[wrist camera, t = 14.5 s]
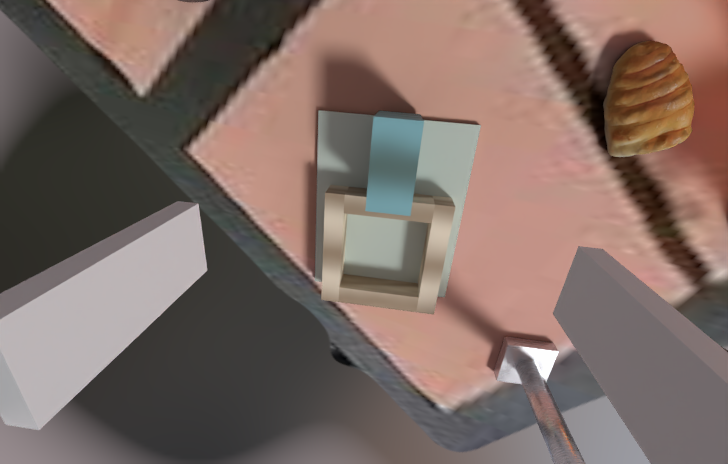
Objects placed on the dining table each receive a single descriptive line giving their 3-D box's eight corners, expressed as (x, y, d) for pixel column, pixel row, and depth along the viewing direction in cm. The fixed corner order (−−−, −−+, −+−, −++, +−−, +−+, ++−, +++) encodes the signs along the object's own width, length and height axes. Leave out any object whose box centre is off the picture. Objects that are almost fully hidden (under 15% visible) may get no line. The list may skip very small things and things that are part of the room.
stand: (504, 336, 42) (580, 521, 24) (553, 342, 42) (666, 536, 24) (493, 371, 45) (554, 563, 27) (539, 377, 44) (632, 577, 26)
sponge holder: (334, 106, 33) (317, 111, 27) (466, 118, 32) (482, 126, 26) (326, 285, 42) (312, 321, 35) (431, 299, 41) (437, 338, 34)
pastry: (587, 62, 30) (612, 58, 27) (673, 27, 28) (711, 18, 25) (603, 159, 33) (627, 168, 30) (681, 133, 32) (716, 138, 28)
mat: (319, 110, 34) (318, 110, 33) (479, 124, 33) (480, 125, 32) (315, 278, 42) (314, 280, 42) (444, 294, 41) (444, 297, 40)
